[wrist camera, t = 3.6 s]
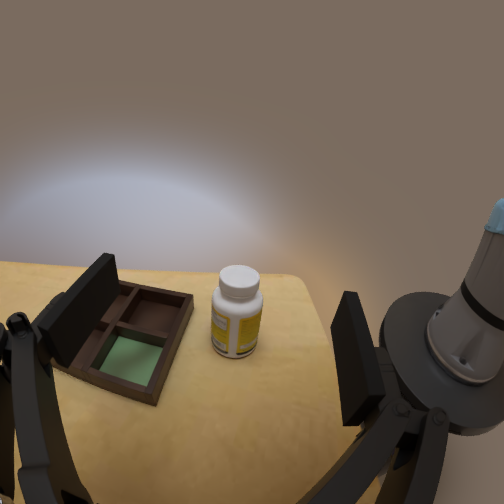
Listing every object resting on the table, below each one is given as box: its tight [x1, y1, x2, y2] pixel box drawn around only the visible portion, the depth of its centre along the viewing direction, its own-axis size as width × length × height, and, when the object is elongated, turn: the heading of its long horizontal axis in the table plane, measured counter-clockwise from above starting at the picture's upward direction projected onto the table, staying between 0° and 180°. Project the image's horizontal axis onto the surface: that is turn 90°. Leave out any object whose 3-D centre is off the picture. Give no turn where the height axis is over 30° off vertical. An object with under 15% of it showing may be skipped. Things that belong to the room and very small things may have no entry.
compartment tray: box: [50, 280, 194, 406], centre depth 29 cm, size 16×16×2 cm
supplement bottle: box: [211, 265, 263, 358], centre depth 29 cm, size 5×5×10 cm
